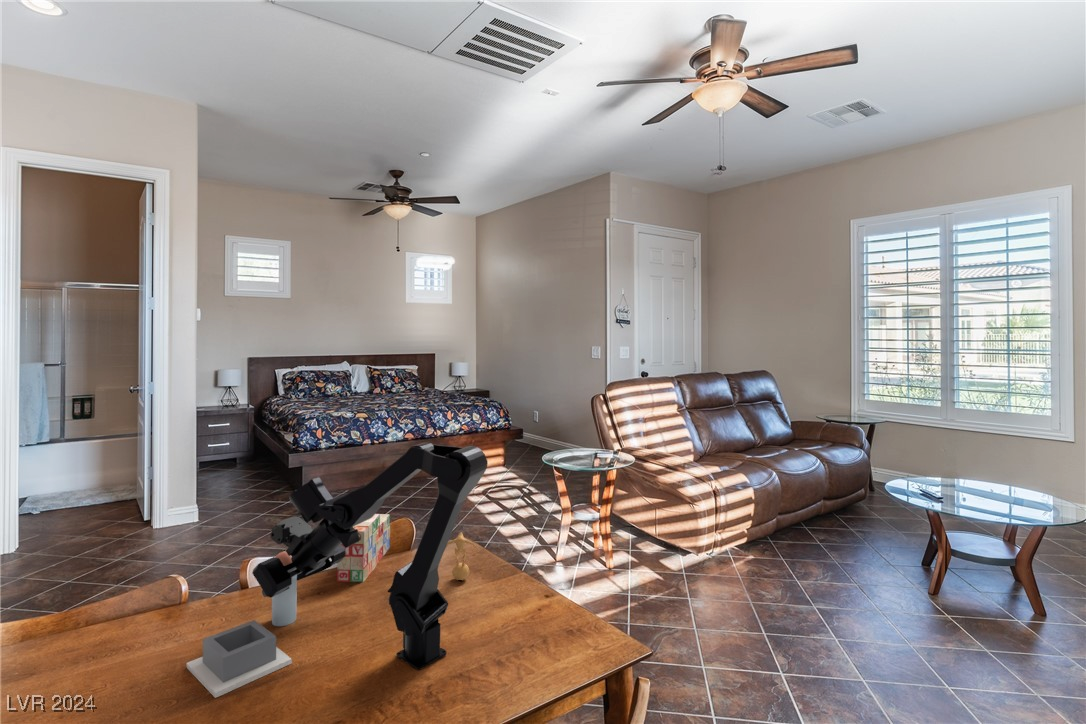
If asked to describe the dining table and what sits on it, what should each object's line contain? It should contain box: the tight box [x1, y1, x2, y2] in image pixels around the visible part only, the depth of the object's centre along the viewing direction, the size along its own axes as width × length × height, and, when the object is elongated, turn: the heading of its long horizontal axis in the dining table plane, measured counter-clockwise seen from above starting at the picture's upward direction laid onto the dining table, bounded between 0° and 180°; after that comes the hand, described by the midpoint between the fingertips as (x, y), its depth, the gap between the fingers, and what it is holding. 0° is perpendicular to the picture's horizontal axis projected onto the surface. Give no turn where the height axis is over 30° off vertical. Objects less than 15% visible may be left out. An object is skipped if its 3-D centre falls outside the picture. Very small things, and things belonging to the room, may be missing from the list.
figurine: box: [445, 532, 479, 581], centre depth 126 cm, size 8×6×12 cm
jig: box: [186, 619, 293, 699], centre depth 92 cm, size 12×12×5 cm
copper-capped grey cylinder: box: [271, 550, 298, 627], centre depth 107 cm, size 4×4×14 cm
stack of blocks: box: [336, 513, 391, 583], centre depth 135 cm, size 21×6×12 cm, turn 0°
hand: (279, 586), depth 107 cm, fingers open, 7 cm apart
